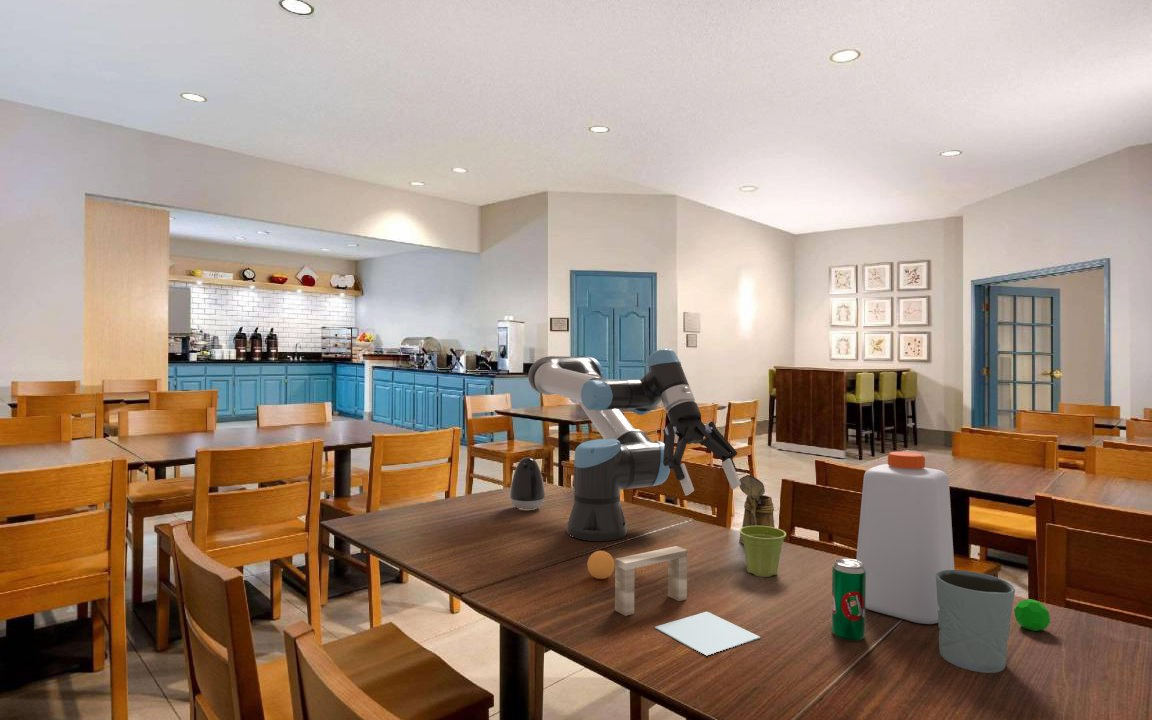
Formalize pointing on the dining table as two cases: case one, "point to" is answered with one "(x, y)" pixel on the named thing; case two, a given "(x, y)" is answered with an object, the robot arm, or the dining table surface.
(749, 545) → the plant pot
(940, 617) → the grey cup
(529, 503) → the black rounded dome
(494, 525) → the dining table surface
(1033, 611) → the polyhedron
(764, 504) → the wooden mug
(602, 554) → the ball
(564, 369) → the robot arm
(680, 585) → the bridge
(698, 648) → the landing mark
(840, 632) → the soda can
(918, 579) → the plastic bottle
